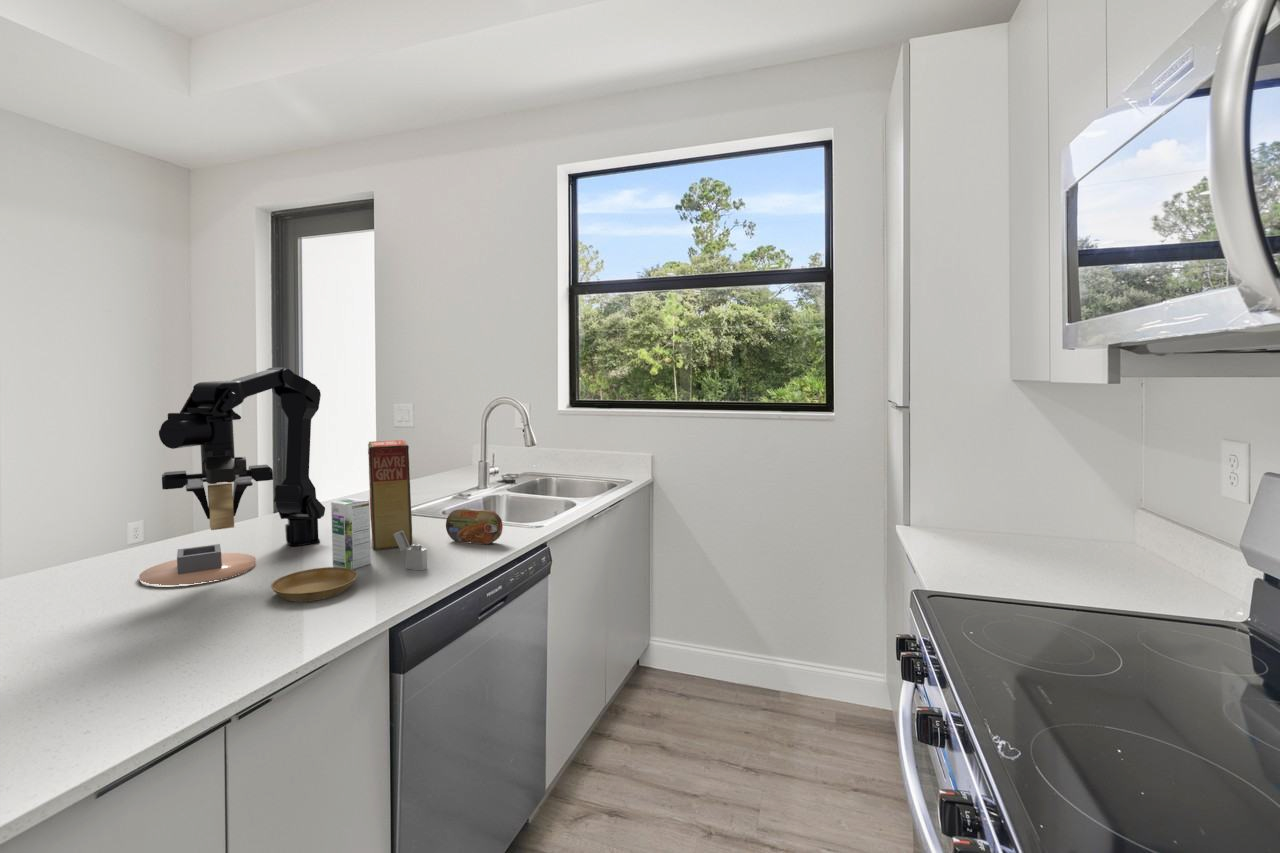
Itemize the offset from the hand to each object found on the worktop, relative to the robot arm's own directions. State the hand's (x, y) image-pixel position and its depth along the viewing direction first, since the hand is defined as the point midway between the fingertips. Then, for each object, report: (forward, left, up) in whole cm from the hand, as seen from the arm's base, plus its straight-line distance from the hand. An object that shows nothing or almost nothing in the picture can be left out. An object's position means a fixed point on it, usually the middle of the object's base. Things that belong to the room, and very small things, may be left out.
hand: (221, 517), depth 127 cm
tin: (-52, +7, -12) cm, 54 cm away
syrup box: (-23, +10, -12) cm, 28 cm away
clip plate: (+4, -4, -12) cm, 13 cm away
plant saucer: (-14, +23, -12) cm, 30 cm away
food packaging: (-35, -5, -12) cm, 37 cm away
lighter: (-33, +19, -12) cm, 40 cm away
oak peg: (0, 0, -2) cm, 2 cm away
